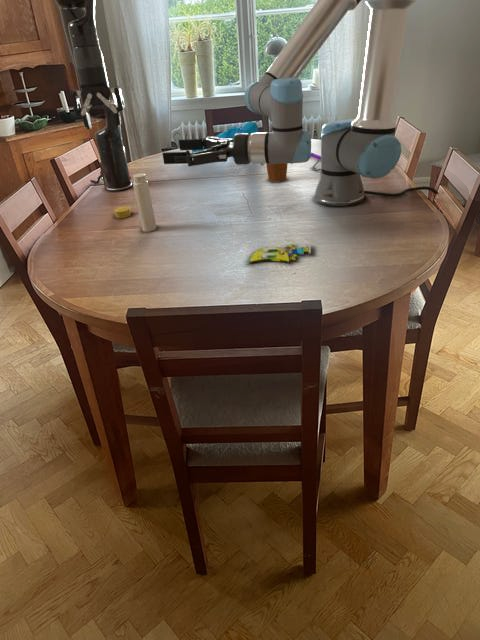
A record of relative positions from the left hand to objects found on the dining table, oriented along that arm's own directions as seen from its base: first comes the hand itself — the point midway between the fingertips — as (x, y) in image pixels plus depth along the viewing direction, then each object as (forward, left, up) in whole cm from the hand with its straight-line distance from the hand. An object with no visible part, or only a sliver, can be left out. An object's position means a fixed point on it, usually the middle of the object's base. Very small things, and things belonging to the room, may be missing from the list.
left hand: (104, 127), depth 139 cm
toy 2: (+60, -7, -27) cm, 66 cm away
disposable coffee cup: (+30, +48, -27) cm, 63 cm away
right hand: (+26, -2, -4) cm, 27 cm away
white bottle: (+16, -6, -27) cm, 32 cm away
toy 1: (-9, +74, -27) cm, 79 cm away
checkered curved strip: (+38, +71, -27) cm, 85 cm away
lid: (0, 0, -25) cm, 25 cm away
